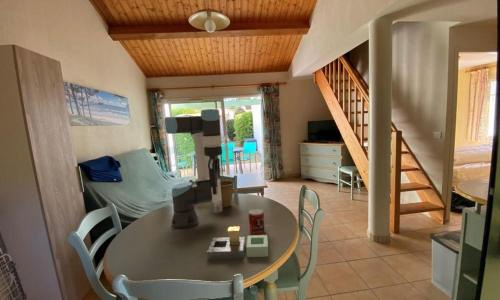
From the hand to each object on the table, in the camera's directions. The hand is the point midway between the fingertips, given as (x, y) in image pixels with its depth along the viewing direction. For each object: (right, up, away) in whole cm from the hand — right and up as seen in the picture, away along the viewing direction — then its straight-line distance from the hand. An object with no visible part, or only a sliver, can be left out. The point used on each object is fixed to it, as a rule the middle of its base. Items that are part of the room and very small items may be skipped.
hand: (216, 199), depth 102 cm
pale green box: (+18, -23, +2) cm, 29 cm away
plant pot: (-3, -17, +61) cm, 63 cm away
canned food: (+18, -21, +20) cm, 34 cm away
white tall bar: (0, -5, +1) cm, 5 cm away
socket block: (+4, -24, +3) cm, 24 cm away
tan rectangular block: (+8, -23, +3) cm, 25 cm away
